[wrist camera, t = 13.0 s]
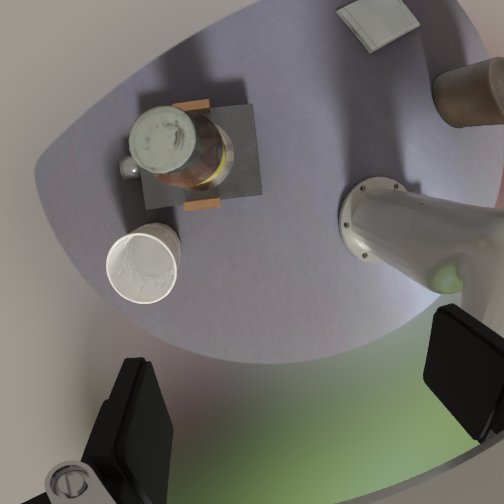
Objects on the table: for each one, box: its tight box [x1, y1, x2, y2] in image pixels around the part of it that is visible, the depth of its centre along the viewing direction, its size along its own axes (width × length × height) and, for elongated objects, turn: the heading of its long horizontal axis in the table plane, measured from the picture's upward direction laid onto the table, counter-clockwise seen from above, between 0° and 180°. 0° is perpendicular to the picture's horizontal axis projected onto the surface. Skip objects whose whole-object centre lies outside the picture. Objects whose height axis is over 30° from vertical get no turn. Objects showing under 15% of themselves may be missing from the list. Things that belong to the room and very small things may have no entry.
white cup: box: [106, 222, 181, 304], centre depth 38 cm, size 8×8×10 cm
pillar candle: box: [432, 57, 504, 128], centre depth 34 cm, size 10×10×15 cm
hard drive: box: [336, 0, 420, 54], centre depth 36 cm, size 2×8×12 cm
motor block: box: [119, 99, 262, 212], centre depth 36 cm, size 17×12×7 cm
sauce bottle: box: [129, 105, 227, 187], centre depth 26 cm, size 6×6×20 cm
